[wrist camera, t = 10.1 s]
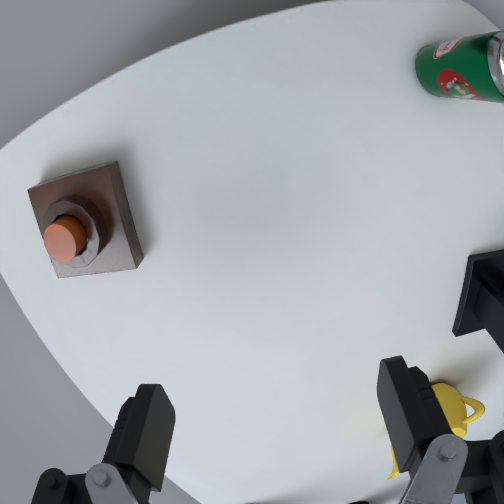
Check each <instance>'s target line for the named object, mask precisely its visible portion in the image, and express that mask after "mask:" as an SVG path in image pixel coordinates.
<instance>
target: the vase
mask: <svg viewBox="0 0 504 504" xmlns="http://www.w3.org/2000/svg"><path fill="white" fill-rule="evenodd" d="M350 504H369V503H368V502H366V501H361V502H355V503H350Z"/></svg>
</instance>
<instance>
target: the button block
mask: <svg viewBox="0 0 504 504" xmlns="http://www.w3.org/2000/svg"><path fill="white" fill-rule="evenodd" d="M27 191H28V194H29V197H30V201H31V204H32V207H33V211H34V214H35V217H36V220H37V223H38V226H39V229H40V232H41V235H42V238H43V240H44V233H45V230H46V228H47V227H48V226H49V225H51V224H52V223H54V222H55V221H56V220H58V219H59V218H60V217H62V216H72V217H74V218H76V219H77V220H79V222H80V223H81V224H82V225H83V227H84V229H85V232H86V244H85V246H84V248H83V249H82V250H81V251H80V252H79V253H78V254H77V255H76V256H75V257H74V258H73V259H72V260H70V261H68V262H61V261H58V260H56V259H54V258H53V257H52V256H51V255H50V254H49V252H48V254H49V257H50V259H51V262H52V264H53V267H54V269H55V272H56V274H57V277H58V278H63V277H71V276H80V275H88V274H97V273H105V272H113V271H122V270H130V269H137V268H138V266H139V265H140V263H141V262H142V260H143V259H144V257H143V254H142V251H141V248H140V244H139V241H138V237H137V234H136V231H135V227H134V224H133V220H132V216H131V213H130V209H129V205H128V201H127V198H126V194H125V190H124V186H123V182H122V178H121V174H120V169H119V165H118V161H113V162H109V163H106V164H102V165H98V166H95V167H91V168H88V169H84V170H81V171H77V172H74V173H71V174H67V175H64V176H61V177H58V178H55V179H52V180H48V181H45V182H42V183H39V184H37V185H35V186H33V187H31V188H29V189H28V190H27Z"/></svg>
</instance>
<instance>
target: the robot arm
mask: <svg viewBox="0 0 504 504" xmlns="http://www.w3.org/2000/svg"><path fill="white" fill-rule="evenodd" d="M377 397H378V401H379V405H380V408H381V411H382V414H383V417H384V421H385V424H386V427H387V431H388V434H389V437H390V441H391V444H392V448H393V451H394V455H395V458H396V462H397V465H398V469H399V473H403V472H406V471H409V475H410V478H411V479H410V481H409V483H408V485H407V487H406V489H405V491H404V493H403V495H402V497H401V499H400V501H399V503H398V504H450V503H451V500H452V498H453V495H454V494H462V493H464V494H465V498H466V502H467V504H504V430H502V431H500V432H498V433H497V434H496V435H495V436H494V437H493V439H491V440H481V441H466V440H463V439H462V438H461V437H459V436H457V435H455V434H454V433H453V431H452V429H451V428H450V425H449V423H448V421H447V418H446V416H445V414H444V412H443V409H442V407H441V405H440V403H439V401H438V398H437V397H436V394H435V392H434V390H433V388H432V386H431V383H430V381H429V379H428V377H427V375H426V374H425V373H424V372H423V371H421V370H420V369H419V368H418V367H417V366H415V367H411V368H408V367H407V365H406V363H405V360H404V358H403V357H402V356H401V355H400V356H395V357H391V358H386V359H382V360H381V361H380V368H379V375H378V382H377ZM174 425H175V410H174V407H173V406H172V404H171V402H170V400H169V398H168V396H167V395H166V393H165V391H164V389H163V387H162V386H161V385H160V384H140V385H139V387H138V389H137V392H136V395H135V397H129V398H128V400H127V401H126V402H125V403H124V404H123V406H122V407H121V409H120V412H119V415H118V420H116V423H115V426H114V427H115V429H113V432H112V434H111V437H110V440H109V443H108V446H107V449H106V452H105V455H104V458H103V460H102V462H101V463H99V464H96V465H94V466H93V467H91V468H90V469H89V471H88V472H87V473H85V474H76V475H66V474H65V473H64V472H62V471H61V470H60V469H57V468H51V469H48V470H46V471H45V472H43V474H42V475H41V476H40V478H39V481H38V484H37V487H36V490H35V493H34V496H33V499H32V502H31V504H152V502H151V500H150V499H149V496H150V491H155V492H161V488H162V483H163V478H164V473H165V468H166V463H167V458H168V453H169V449H170V444H171V439H172V434H173V430H174Z"/></svg>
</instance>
